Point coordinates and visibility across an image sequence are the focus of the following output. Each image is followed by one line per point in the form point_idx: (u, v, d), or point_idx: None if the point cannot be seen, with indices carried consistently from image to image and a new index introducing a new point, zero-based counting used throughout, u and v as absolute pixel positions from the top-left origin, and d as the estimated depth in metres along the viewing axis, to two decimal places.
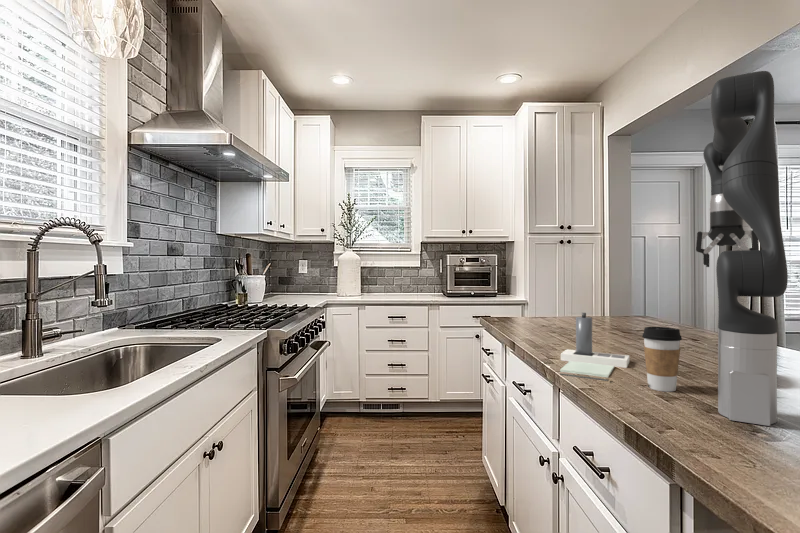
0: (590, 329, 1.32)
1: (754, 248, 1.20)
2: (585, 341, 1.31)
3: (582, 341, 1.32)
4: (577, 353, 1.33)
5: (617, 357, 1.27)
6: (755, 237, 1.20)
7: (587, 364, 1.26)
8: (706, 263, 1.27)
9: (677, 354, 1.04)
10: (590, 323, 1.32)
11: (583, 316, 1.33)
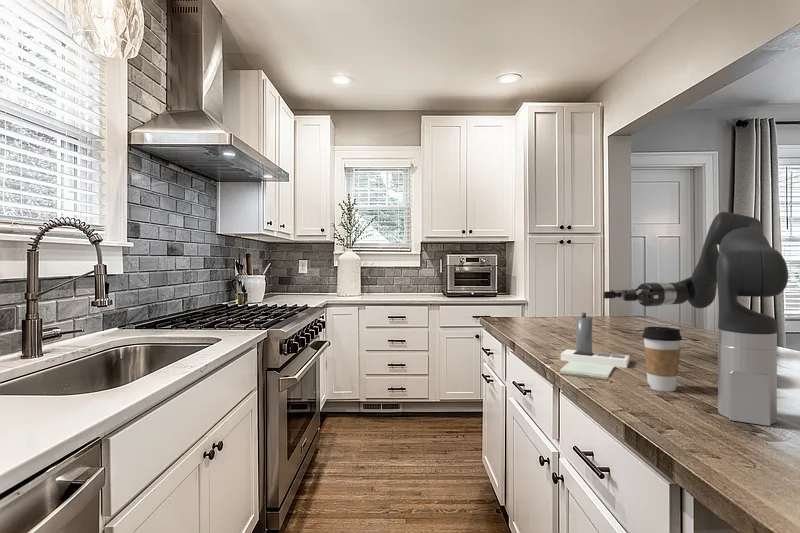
0: (590, 329, 1.32)
1: None
2: (585, 341, 1.31)
3: (582, 341, 1.32)
4: (577, 353, 1.33)
5: (617, 357, 1.27)
6: (652, 292, 1.32)
7: (587, 364, 1.26)
8: None
9: (677, 354, 1.04)
10: (590, 323, 1.32)
11: (583, 316, 1.33)
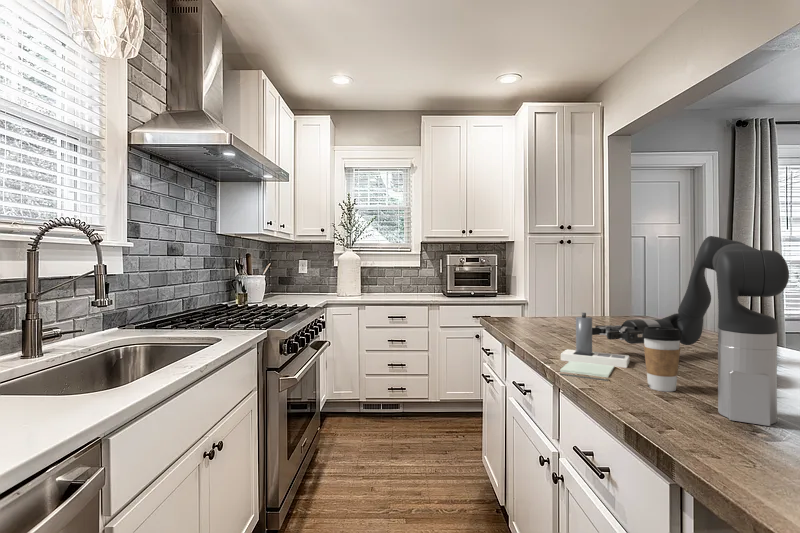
0: (590, 329, 1.32)
1: None
2: (585, 341, 1.31)
3: (582, 341, 1.32)
4: (577, 353, 1.33)
5: (617, 357, 1.27)
6: (636, 331, 1.31)
7: (587, 364, 1.26)
8: None
9: (677, 354, 1.04)
10: (590, 323, 1.32)
11: (583, 316, 1.33)
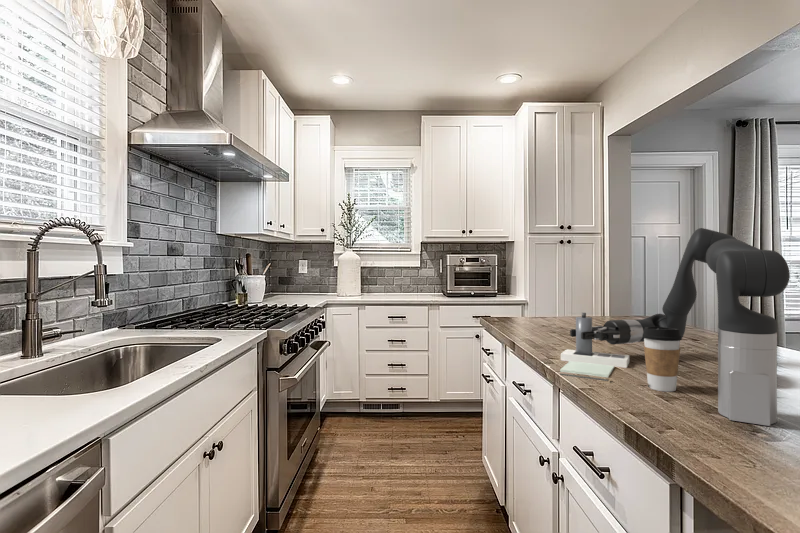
0: (590, 329, 1.32)
1: None
2: (585, 341, 1.31)
3: (582, 341, 1.32)
4: (577, 353, 1.33)
5: (617, 357, 1.27)
6: (612, 332, 1.29)
7: (587, 364, 1.26)
8: None
9: (677, 354, 1.04)
10: (590, 323, 1.32)
11: (583, 316, 1.33)
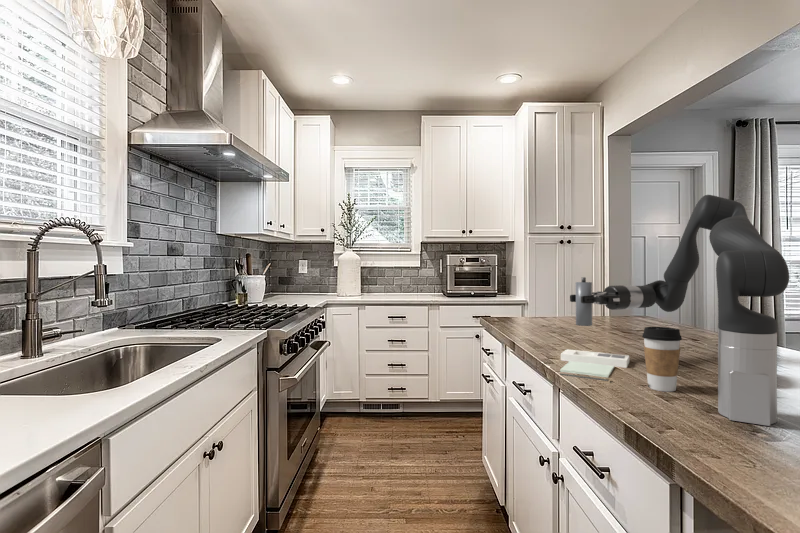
0: (590, 293, 1.31)
1: None
2: (585, 305, 1.31)
3: (581, 305, 1.31)
4: (577, 318, 1.33)
5: (617, 357, 1.27)
6: (612, 295, 1.29)
7: (587, 364, 1.26)
8: None
9: (677, 354, 1.04)
10: (590, 287, 1.31)
11: (583, 281, 1.33)
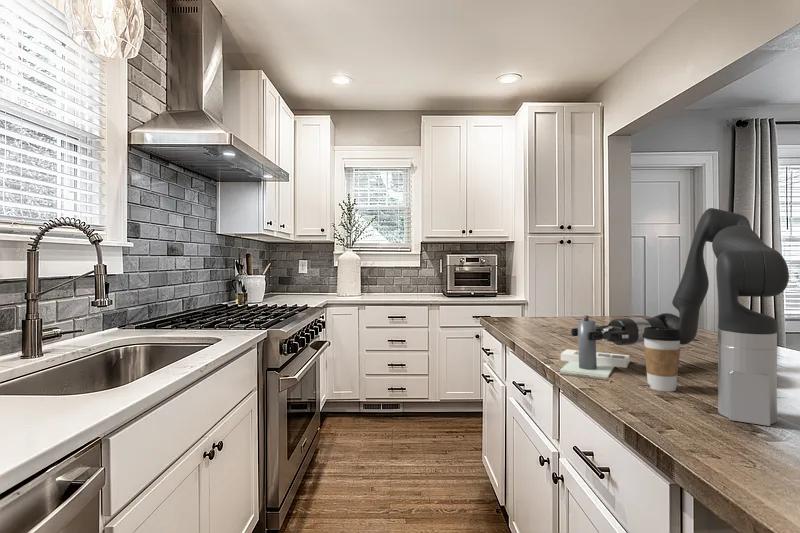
0: None
1: None
2: (588, 346, 1.20)
3: (585, 347, 1.20)
4: (580, 360, 1.21)
5: (617, 357, 1.27)
6: (621, 331, 1.17)
7: None
8: None
9: (677, 354, 1.04)
10: (594, 327, 1.20)
11: (585, 319, 1.22)
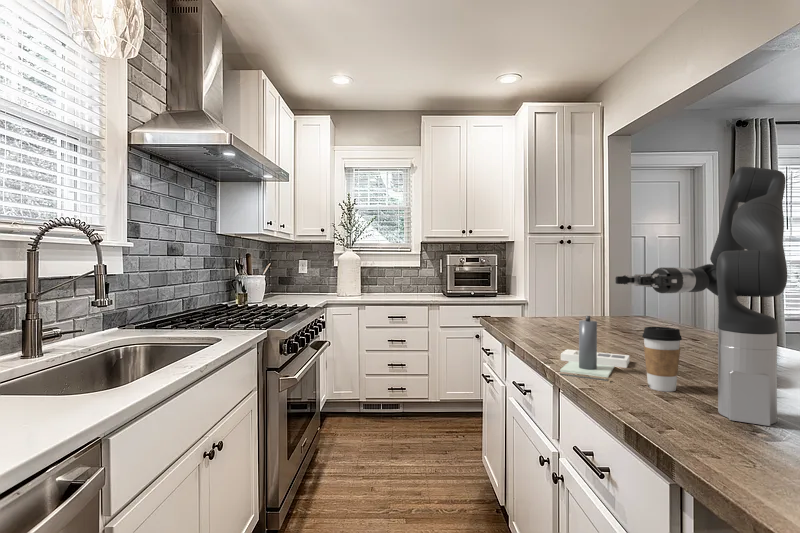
0: (595, 334, 1.20)
1: None
2: (589, 347, 1.20)
3: (585, 347, 1.20)
4: (580, 360, 1.21)
5: (617, 357, 1.27)
6: (670, 276, 1.20)
7: None
8: None
9: (677, 354, 1.04)
10: (595, 327, 1.20)
11: (587, 320, 1.21)
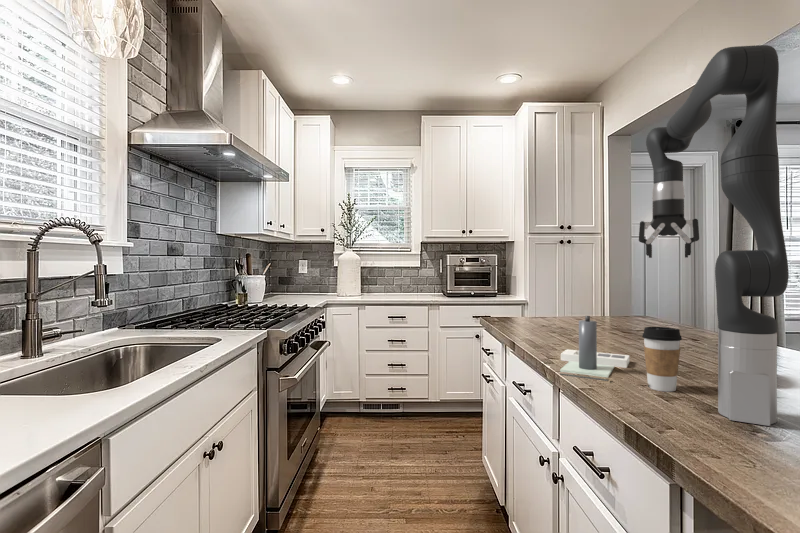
0: (594, 334, 1.20)
1: (695, 238, 1.17)
2: (589, 347, 1.20)
3: (585, 347, 1.20)
4: (580, 360, 1.21)
5: (617, 357, 1.27)
6: (696, 226, 1.17)
7: None
8: (648, 254, 1.23)
9: (677, 354, 1.04)
10: (595, 328, 1.20)
11: (587, 320, 1.21)
